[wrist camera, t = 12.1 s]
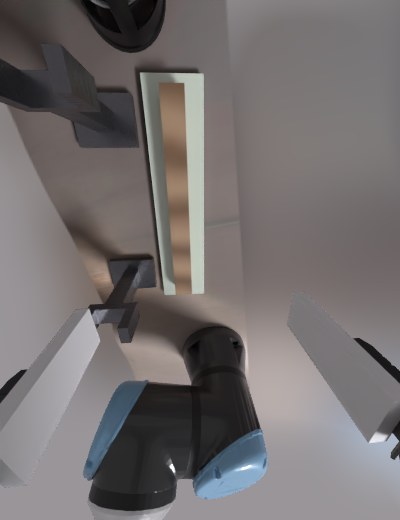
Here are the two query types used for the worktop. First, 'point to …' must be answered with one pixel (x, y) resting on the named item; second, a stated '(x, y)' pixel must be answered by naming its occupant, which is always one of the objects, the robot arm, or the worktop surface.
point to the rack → (89, 136)
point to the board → (194, 167)
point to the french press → (126, 24)
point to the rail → (177, 180)
